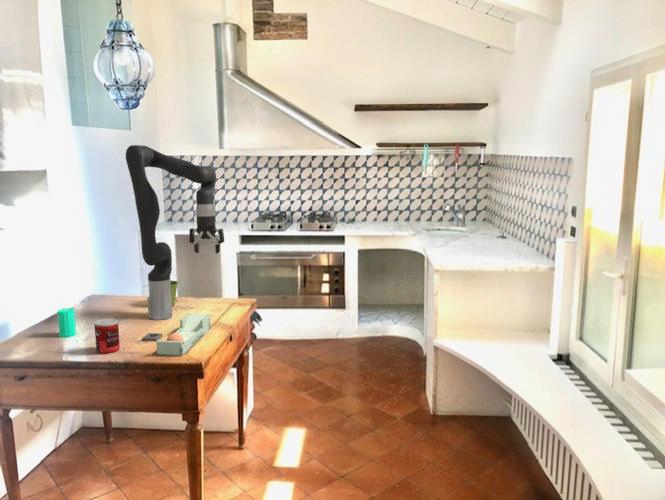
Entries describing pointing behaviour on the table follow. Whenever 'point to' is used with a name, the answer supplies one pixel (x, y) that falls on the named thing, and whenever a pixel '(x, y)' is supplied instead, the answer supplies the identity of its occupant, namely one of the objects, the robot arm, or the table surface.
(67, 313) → the candle
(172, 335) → the ball
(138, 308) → the table surface
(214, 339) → the table surface
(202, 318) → the lane
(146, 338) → the grey picture frame
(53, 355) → the table surface
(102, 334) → the canned food
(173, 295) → the plant pot
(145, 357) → the table surface
